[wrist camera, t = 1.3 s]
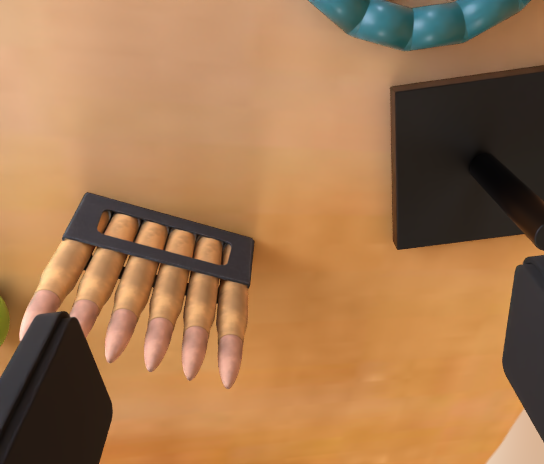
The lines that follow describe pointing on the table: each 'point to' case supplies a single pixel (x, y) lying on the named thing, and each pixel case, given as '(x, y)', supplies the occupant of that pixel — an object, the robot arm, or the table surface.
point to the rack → (468, 158)
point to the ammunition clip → (151, 281)
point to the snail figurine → (3, 320)
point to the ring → (417, 20)
